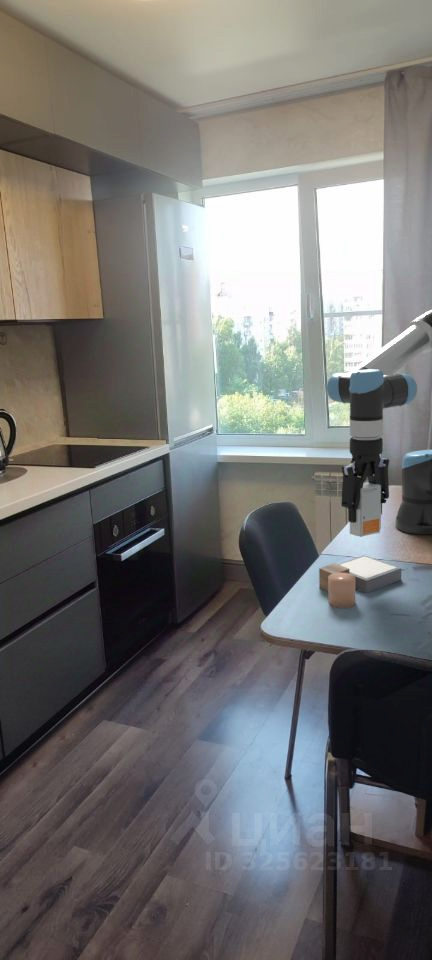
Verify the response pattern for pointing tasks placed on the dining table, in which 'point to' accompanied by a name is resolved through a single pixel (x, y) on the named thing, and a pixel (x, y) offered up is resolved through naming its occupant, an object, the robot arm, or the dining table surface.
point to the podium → (372, 573)
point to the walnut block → (327, 571)
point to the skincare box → (369, 509)
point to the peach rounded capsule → (341, 590)
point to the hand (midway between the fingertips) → (365, 531)
